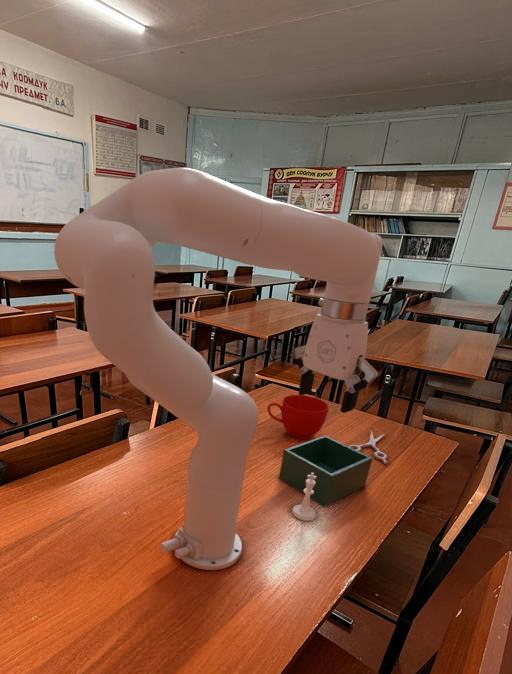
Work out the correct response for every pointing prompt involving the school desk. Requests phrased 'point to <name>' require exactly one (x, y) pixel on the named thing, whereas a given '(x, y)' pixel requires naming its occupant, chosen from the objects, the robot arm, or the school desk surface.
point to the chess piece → (306, 502)
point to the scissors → (372, 444)
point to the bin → (325, 468)
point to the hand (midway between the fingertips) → (324, 402)
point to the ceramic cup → (301, 415)
